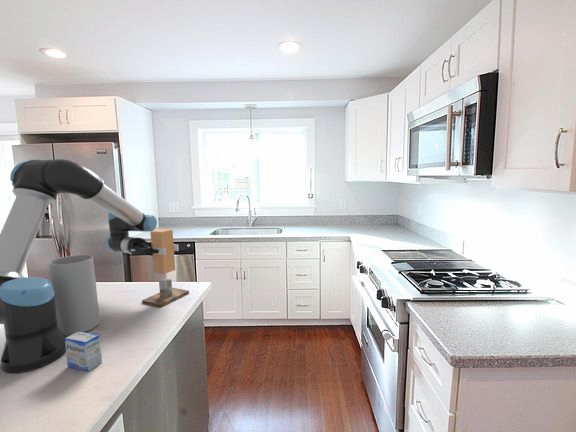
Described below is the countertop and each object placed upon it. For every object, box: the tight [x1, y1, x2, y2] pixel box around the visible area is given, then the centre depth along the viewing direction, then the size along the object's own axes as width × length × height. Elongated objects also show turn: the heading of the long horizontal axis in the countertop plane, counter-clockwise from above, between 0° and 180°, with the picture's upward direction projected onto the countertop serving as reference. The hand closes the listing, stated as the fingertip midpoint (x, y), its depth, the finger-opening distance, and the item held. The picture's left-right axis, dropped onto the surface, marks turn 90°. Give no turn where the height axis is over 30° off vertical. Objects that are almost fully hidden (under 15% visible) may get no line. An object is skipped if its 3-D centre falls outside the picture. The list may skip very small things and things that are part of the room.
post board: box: [141, 277, 190, 308], centre depth 131 cm, size 16×11×8 cm
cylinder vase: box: [48, 254, 101, 337], centre depth 105 cm, size 12×12×25 cm
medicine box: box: [65, 332, 103, 372], centre depth 84 cm, size 8×4×9 cm, turn 73°
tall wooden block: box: [149, 228, 176, 275], centre depth 129 cm, size 6×6×18 cm
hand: (171, 249), depth 127 cm, fingers closed on tall wooden block, 6 cm apart
